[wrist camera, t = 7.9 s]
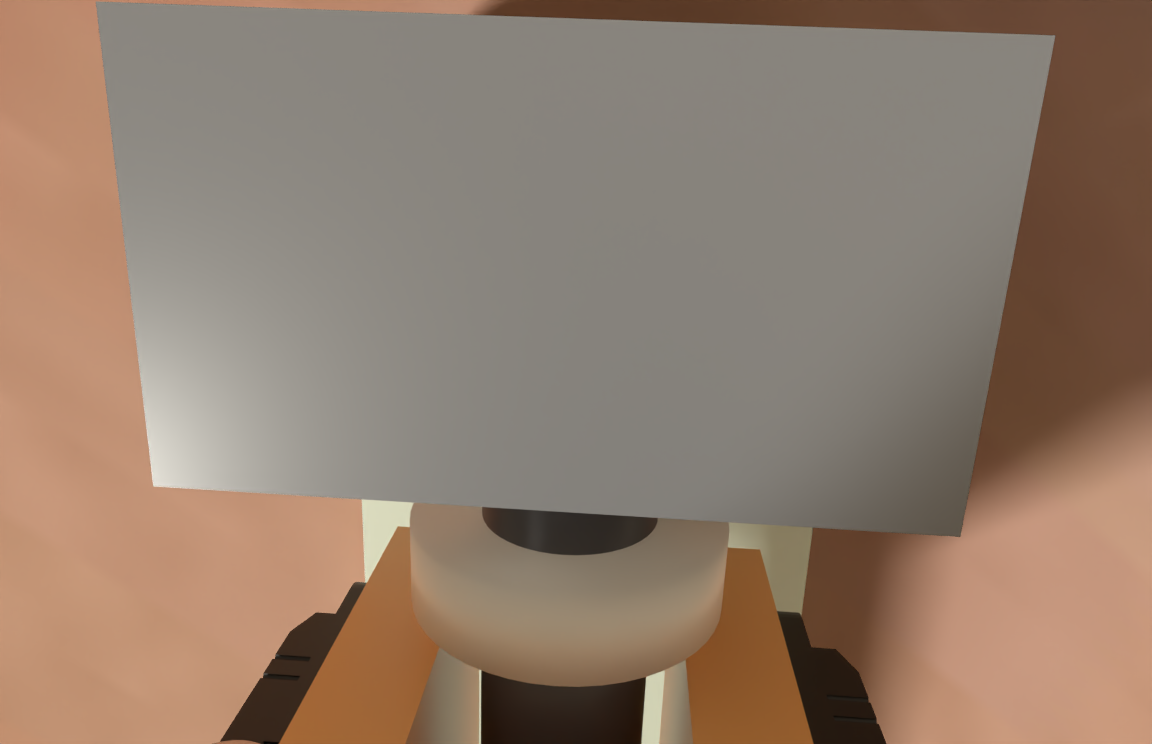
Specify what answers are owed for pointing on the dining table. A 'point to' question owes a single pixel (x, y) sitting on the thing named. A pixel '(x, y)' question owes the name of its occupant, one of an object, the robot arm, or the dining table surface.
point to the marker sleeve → (451, 687)
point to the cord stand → (570, 304)
